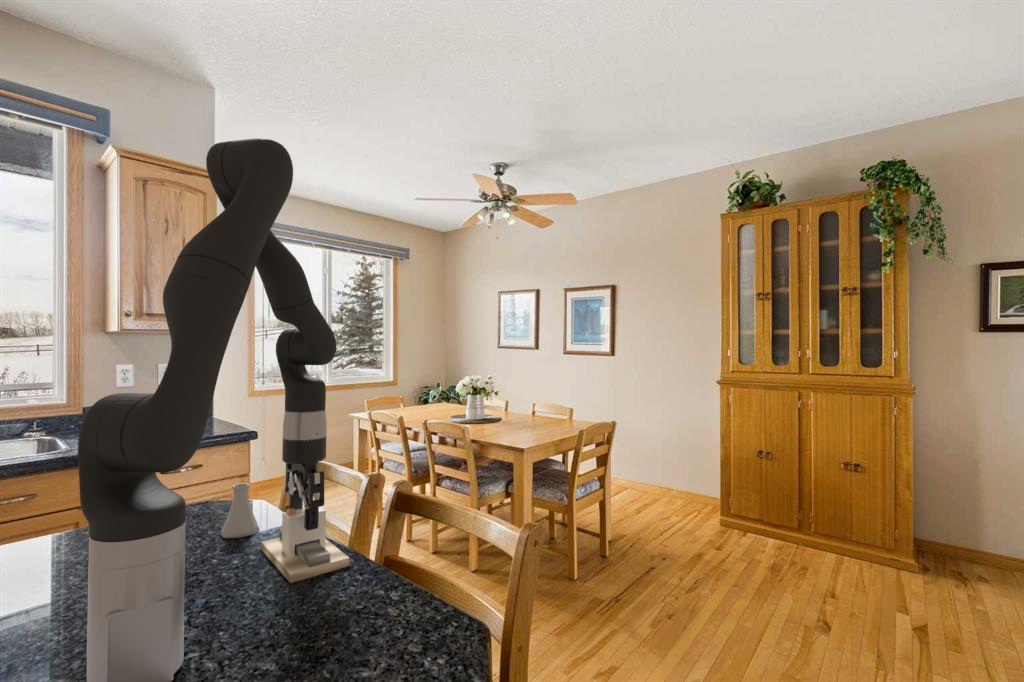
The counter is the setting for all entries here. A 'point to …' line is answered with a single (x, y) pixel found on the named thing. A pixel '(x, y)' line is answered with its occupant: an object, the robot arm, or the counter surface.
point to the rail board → (297, 565)
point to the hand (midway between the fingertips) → (303, 523)
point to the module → (300, 530)
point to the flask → (240, 515)
